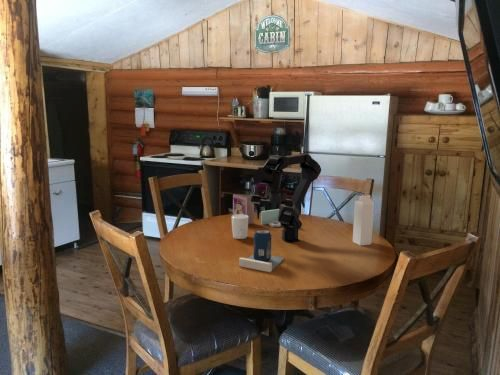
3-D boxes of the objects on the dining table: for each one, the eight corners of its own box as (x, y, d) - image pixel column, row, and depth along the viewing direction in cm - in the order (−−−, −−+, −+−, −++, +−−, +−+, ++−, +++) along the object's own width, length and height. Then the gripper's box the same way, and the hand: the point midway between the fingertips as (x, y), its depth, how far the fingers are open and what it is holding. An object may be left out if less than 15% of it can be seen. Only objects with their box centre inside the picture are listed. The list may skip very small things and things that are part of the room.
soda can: (254, 256, 168) (255, 228, 166) (271, 257, 167) (272, 229, 165) (252, 262, 161) (252, 233, 159) (269, 264, 160) (270, 234, 158)
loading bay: (255, 254, 172) (255, 247, 172) (284, 259, 167) (284, 252, 166) (239, 266, 159) (239, 258, 159) (270, 272, 154) (270, 264, 153)
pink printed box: (231, 222, 219) (231, 194, 216) (242, 219, 224) (242, 192, 221) (245, 227, 210) (245, 198, 207) (256, 224, 215) (256, 196, 212)
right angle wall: (260, 225, 216) (260, 211, 214) (280, 222, 221) (280, 208, 220) (272, 231, 205) (272, 216, 204) (292, 228, 211) (293, 214, 209)
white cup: (249, 234, 198) (249, 214, 196) (247, 240, 190) (247, 218, 188) (232, 234, 199) (232, 213, 197) (230, 239, 191) (230, 218, 189)
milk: (352, 241, 189) (354, 194, 185) (363, 240, 192) (366, 193, 187) (360, 245, 184) (363, 197, 180) (371, 244, 186) (374, 196, 182)
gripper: (256, 183, 168) (250, 221, 169) (300, 189, 171) (294, 226, 172) (251, 181, 178) (245, 216, 179) (292, 186, 182) (286, 221, 183)
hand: (268, 220), depth 178 cm, fingers open, 9 cm apart
